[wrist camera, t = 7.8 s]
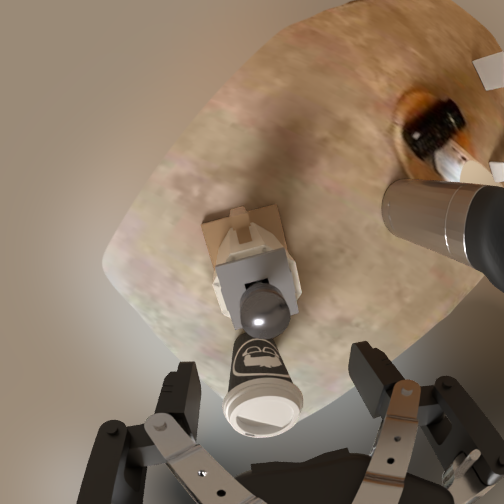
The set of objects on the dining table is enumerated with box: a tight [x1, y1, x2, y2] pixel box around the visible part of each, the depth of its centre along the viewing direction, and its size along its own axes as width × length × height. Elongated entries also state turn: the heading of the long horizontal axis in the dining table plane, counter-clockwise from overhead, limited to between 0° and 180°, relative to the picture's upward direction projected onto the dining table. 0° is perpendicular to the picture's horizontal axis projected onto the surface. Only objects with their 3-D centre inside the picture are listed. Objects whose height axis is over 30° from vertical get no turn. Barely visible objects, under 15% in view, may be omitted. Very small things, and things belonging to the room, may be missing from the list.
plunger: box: [239, 278, 291, 339], centre depth 25 cm, size 5×5×14 cm
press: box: [201, 204, 302, 330], centre depth 29 cm, size 10×11×15 cm
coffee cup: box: [222, 333, 303, 438], centre depth 33 cm, size 10×10×15 cm
